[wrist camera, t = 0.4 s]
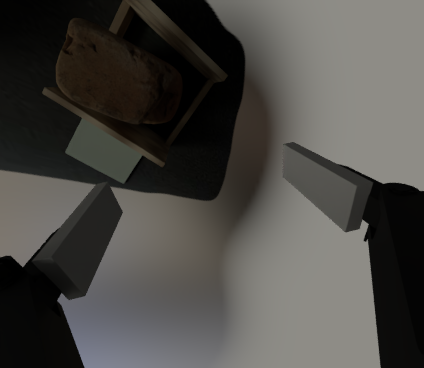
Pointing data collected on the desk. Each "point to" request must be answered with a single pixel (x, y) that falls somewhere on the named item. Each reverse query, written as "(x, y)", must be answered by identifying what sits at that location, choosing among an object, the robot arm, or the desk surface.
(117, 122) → the cradle
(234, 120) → the desk surface
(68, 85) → the brown potato
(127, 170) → the mat
